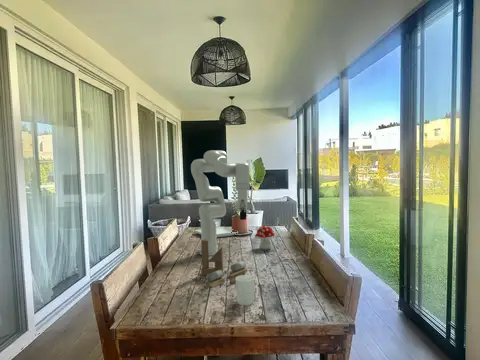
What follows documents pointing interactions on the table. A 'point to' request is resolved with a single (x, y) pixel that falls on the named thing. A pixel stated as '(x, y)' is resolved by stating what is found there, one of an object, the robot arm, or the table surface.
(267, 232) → the decorative mushroom
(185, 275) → the table surface
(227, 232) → the square plate
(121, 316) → the table surface
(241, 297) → the white cup
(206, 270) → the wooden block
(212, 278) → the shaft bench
